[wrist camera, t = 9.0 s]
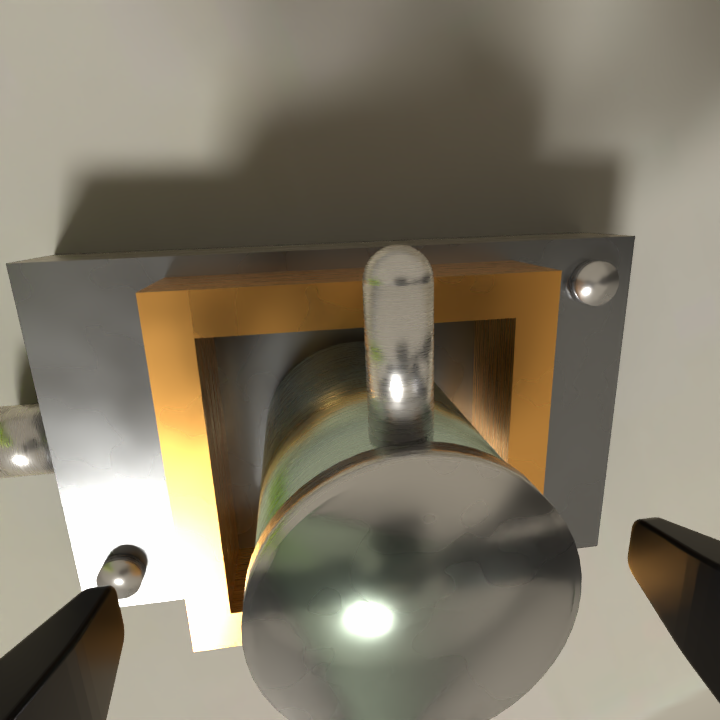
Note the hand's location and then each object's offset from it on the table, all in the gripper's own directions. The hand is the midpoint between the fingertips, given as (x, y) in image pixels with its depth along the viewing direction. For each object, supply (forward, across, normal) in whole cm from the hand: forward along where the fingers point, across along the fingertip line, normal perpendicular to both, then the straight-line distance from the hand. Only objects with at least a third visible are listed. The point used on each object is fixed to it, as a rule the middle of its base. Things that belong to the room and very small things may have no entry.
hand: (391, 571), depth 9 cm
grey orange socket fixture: (+8, 0, 0) cm, 8 cm away
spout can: (+6, 0, -1) cm, 6 cm away
